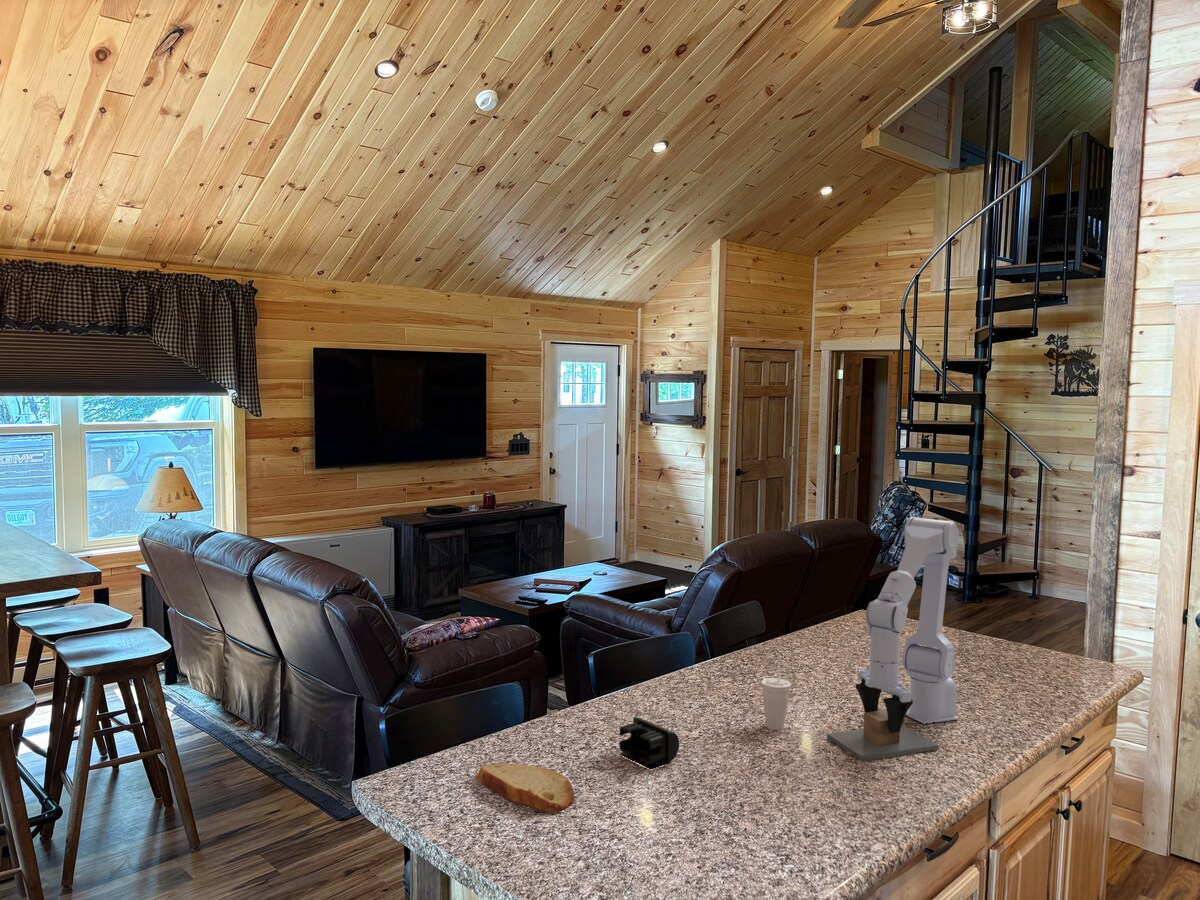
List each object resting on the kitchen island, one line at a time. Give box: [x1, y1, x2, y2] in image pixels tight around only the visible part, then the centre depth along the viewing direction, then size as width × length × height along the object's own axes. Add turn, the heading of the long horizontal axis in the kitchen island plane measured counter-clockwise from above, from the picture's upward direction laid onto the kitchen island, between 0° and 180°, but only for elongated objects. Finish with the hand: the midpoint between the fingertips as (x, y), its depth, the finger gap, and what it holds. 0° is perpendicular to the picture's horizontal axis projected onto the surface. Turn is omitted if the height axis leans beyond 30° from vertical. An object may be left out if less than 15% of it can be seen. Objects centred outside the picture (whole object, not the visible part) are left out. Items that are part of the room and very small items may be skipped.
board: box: [826, 724, 939, 762], centre depth 183 cm, size 18×12×1 cm, turn 109°
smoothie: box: [760, 661, 792, 731], centre depth 191 cm, size 6×6×14 cm
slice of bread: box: [476, 762, 576, 813], centre depth 160 cm, size 18×18×4 cm
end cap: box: [618, 716, 680, 769], centre depth 175 cm, size 10×7×7 cm
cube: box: [863, 709, 900, 746], centre depth 183 cm, size 5×5×5 cm
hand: (882, 725), depth 183 cm, fingers open, 7 cm apart
